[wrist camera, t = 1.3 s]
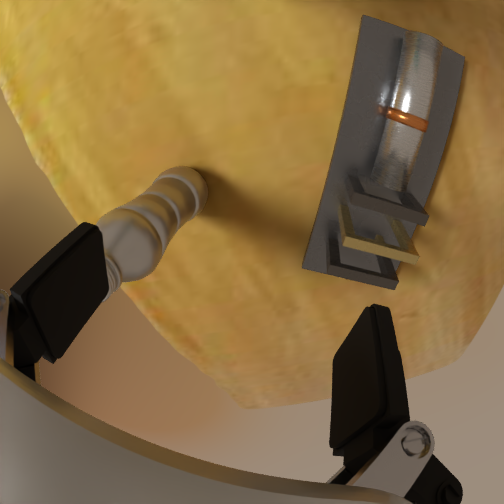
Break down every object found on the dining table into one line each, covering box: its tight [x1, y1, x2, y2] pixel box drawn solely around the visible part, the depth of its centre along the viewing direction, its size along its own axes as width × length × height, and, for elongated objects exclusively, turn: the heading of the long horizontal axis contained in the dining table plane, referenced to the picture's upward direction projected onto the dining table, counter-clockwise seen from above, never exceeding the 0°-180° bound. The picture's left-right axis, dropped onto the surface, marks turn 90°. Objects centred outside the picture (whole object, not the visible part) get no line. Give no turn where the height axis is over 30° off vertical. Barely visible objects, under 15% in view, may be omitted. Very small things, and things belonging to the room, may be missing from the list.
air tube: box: [371, 31, 443, 192], centre depth 23 cm, size 16×4×4 cm, turn 171°
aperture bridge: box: [338, 204, 420, 265], centre depth 28 cm, size 1×8×8 cm, turn 81°
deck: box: [302, 15, 465, 274], centre depth 29 cm, size 31×12×1 cm, turn 171°
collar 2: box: [326, 238, 399, 290], centre depth 32 cm, size 1×8×6 cm, turn 81°
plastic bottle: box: [96, 166, 208, 302], centre depth 27 cm, size 6×7×20 cm
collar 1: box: [345, 175, 429, 226], centre depth 27 cm, size 1×8×6 cm, turn 81°
